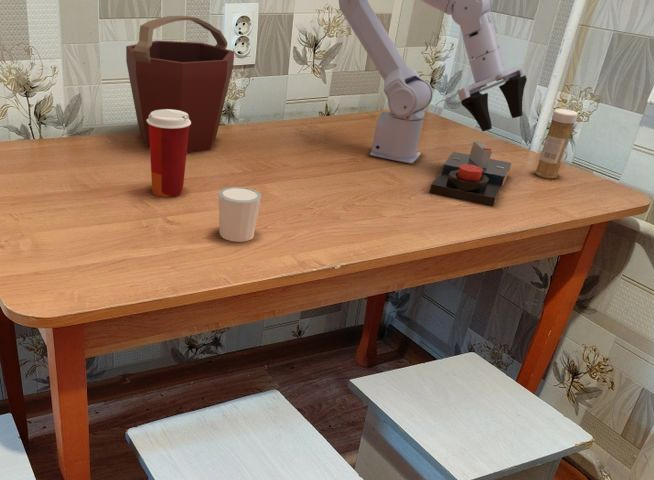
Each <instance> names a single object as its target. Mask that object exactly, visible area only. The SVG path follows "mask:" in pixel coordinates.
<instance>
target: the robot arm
mask: <svg viewBox="0 0 654 480" xmlns="http://www.w3.org/2000/svg"><path fill="white" fill-rule="evenodd" d="M421 2H423V3H425V4H427V5H429V6H430V7H433V8H435V9H436V10H438V11H441V12H442V13H444V14H446V15H449V16H451V18H452V20H453V21H454V23H456V24H457V25H458V26H459V28H460V31H461V36H462V40H463V44H464V47H465V52H466V54H467V58H468V63H469V67H470V70H471V74H472V77H473V82H474V83H472V84H470V85H468V86H465V87H462V88H460V89H458V90H456V92H457V95H458V98H459V101H460V104H461V106H463V107H464V109H466V110H467V111H468V112H469V113H470V114H471V116H472V117H473V118H474V120H475V121H476V123H477V124H478V126H479V128H480V129H481V131H482V132H487V131H490V130H492V129H493V127H492V120H491V115H490V110H489V93H488V92H485V91H486V90H489V89H492V88H494V87H497V86H498V88H499V90H500V91H501V93H502V94H503V95H502V96H503V97H504V98H505V101H506V103H507V107H508V110H509V114H510V116H511V118H512V119H517V118H520V117H522V116H523V99H524V92H525V87H526V83H527V80H528V79H527V75H526V72H525V68H524V64H519V65H516V66H514V67H511V68H510V69H506V68H505V64H504V60H503V56H502V53H501V49H500V44H499V41H498V37H497V33H496V30H495V26H494V23H493V20H492V19H493V18H492V16H491V12H490V11H491V8H492V0H421ZM338 8H339V9H340V12H341V13H342V15H343V17H344V18H345V20H346V21H347V23H348V24H349V26H350V28H351V30H352V31H353V33H354V34H355V36H356V37H357V39H358V41H359V42H360V44H361V46H362V47H363V50H365V52H366V54H367V55H368V57H369V59H370V60H371V62H372V64H373V65H374V66H375V68H376V69H377V72H378V73H379V74H380V76H381V78H382V79H383V81H384V82H383V83H384V84H383V92H384V94H385V96H386V98H387V106H388V108H389V111H381V112H380V113H379V115H378V118H377V121H376V124H375V129H374V133H373V140H372V146H371V152H370V153H369V156H370V157H375V158H380V159H385V160H390V161H396V162H400V163H405V164H410V165H411V164H412V165H413V164H414V163H415V162H416V161H417V159H418V158H419V157H420V156H421V154H422V153H421V152H420V151H418V148H419V143H420V138H421V133H422V129H423V125H424V120H425V116H426V114H425V109H426V108H427V107H428V106H429V105H430V104H431V102H432V100H433V98H434V97H433V96H434V91H433V87H432V85H431V84H430V83H429V82H428V81H427V80H425V79H423V78H422V77H421V76H420V75H419V73H418V71H416V70H415V69H413V68H412V67H410V66H409V65H408V64H407V63H406V61H405V59H404V58H403V56H402V54H401V53H400V51H399V50H398V48H397V46H396V45H395V44H394V42H393V40H392V39H391V37H390V35H389V34H388V32H387V30H386V29H385V26H384V25H383V24H382V22H381V21H380V19H379V18H378V16H377V14H376V13H375V11H374V9H373V8H372V6H371V4H370V3H369V0H338ZM493 82H495V83H493ZM491 83H492V84H491ZM488 84H489V85H488ZM482 92H485V93H482Z"/></svg>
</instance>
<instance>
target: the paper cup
mask: <svg viewBox="0 0 654 480" xmlns="http://www.w3.org/2000/svg"><path fill="white" fill-rule="evenodd" d="M146 121H147V123H148V124H149V138H150V148H149V157H150V158H149V159H150V172H151V173H150V174H151V175H150V176H151V189H152V194H153V195H156V196H157V197H163V198H175V197H179V196H181V195H182V194H183V191H184V185H185V183H184V181H185V173H186V163H187V154H188V152H187V145H188V133H189V125H191V121H190V120H189V115H188V114H187V113H186V112H183V111H179V110H172V109H161V110H155V111H152V112H151V113H150V115H149V118H148V119H147V120H146Z"/></svg>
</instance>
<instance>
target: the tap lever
mask: <svg viewBox="0 0 654 480" xmlns="http://www.w3.org/2000/svg"><path fill="white" fill-rule="evenodd" d="M492 153H493V150H492V148H491V147H489V146H487V145H486V144H485V143H483V142H482V141H479V140H477V141H476V140H473V143H472V146H471V150H470V154H469V155H470V157H469V159H470V160H472V161H473V162H474V163H475V164H476V165H477V166H478V167H481V168H487V167H488V164H489V160H490V159H491V157H492Z"/></svg>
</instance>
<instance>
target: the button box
mask: <svg viewBox="0 0 654 480" xmlns="http://www.w3.org/2000/svg"><path fill="white" fill-rule="evenodd" d="M457 174H458V170H455V171H451V172H450V173H449V175H448V174H443V173H442V172H440V173H439V174H438V175H437V176H436V178H435V179H434V180H433V181H432V183H431V184H430V189H429V194H432V195H437V196H442V197H447V198H451V199H456V200H461V201H465V202H469V203H473V204H479V205H484V206H489V207H494V205H495V204H496V201H497V199H498V198H499V195H500V192H501V191H500V189H501V185H497V184H492V183H488V181H489V178H488V177H487V176H486V175H483V174H482V176H481V179H480V181H469V180H464V179H461V178H459V177H457ZM501 190H502V189H501Z"/></svg>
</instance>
